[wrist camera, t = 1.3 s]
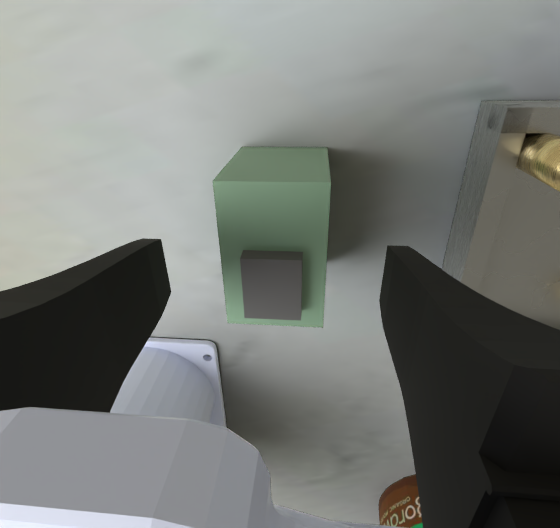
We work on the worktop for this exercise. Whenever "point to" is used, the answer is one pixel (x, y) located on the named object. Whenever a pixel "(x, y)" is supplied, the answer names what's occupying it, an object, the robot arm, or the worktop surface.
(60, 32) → the worktop surface
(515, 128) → the chassis
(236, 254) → the block
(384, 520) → the food container
